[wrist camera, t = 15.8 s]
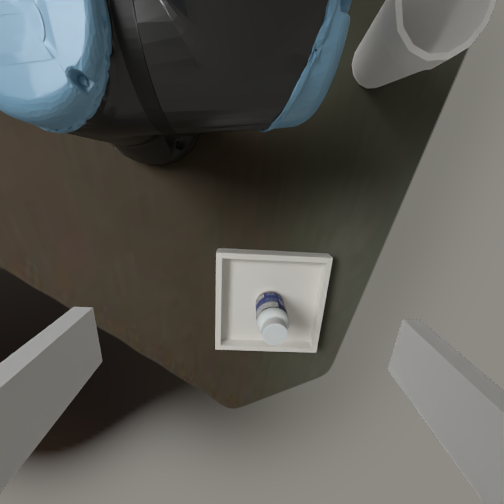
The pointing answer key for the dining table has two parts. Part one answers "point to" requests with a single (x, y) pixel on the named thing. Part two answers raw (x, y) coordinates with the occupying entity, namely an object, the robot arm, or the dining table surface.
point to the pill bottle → (272, 317)
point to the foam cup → (417, 37)
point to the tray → (277, 279)
